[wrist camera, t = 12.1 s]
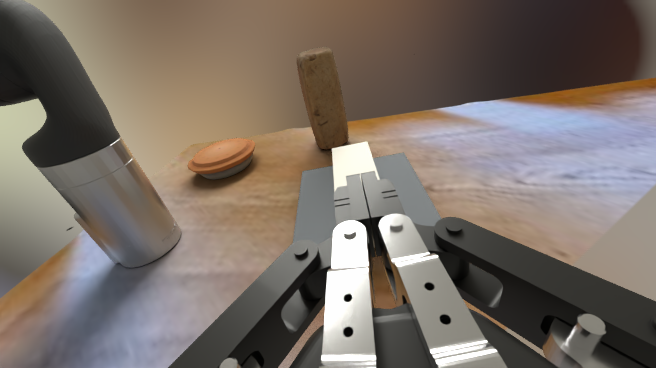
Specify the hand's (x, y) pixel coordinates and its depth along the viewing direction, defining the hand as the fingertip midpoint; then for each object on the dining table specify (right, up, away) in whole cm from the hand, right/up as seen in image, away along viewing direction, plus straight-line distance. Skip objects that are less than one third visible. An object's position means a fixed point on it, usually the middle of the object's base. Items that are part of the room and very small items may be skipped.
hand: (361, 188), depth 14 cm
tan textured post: (-1, +10, +51) cm, 52 cm away
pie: (-25, +4, +51) cm, 57 cm away
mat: (+3, -2, +30) cm, 30 cm away
